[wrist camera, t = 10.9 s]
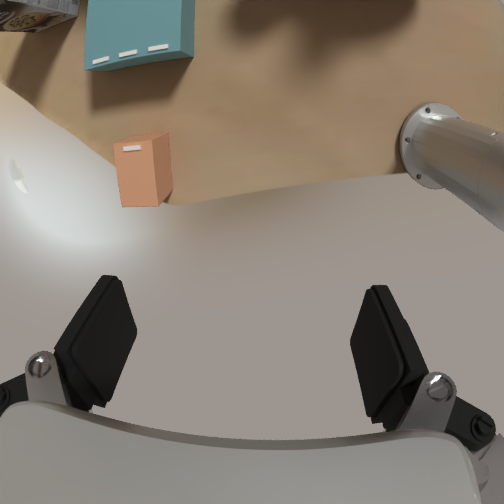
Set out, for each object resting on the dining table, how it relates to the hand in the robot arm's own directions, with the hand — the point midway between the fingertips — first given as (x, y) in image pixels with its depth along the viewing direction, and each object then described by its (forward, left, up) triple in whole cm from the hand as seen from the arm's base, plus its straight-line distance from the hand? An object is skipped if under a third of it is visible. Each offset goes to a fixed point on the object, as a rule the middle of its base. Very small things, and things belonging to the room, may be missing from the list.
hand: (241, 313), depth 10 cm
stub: (+14, +1, -28) cm, 32 cm away
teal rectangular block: (+14, -21, -28) cm, 38 cm away
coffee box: (+30, -27, -28) cm, 49 cm away
